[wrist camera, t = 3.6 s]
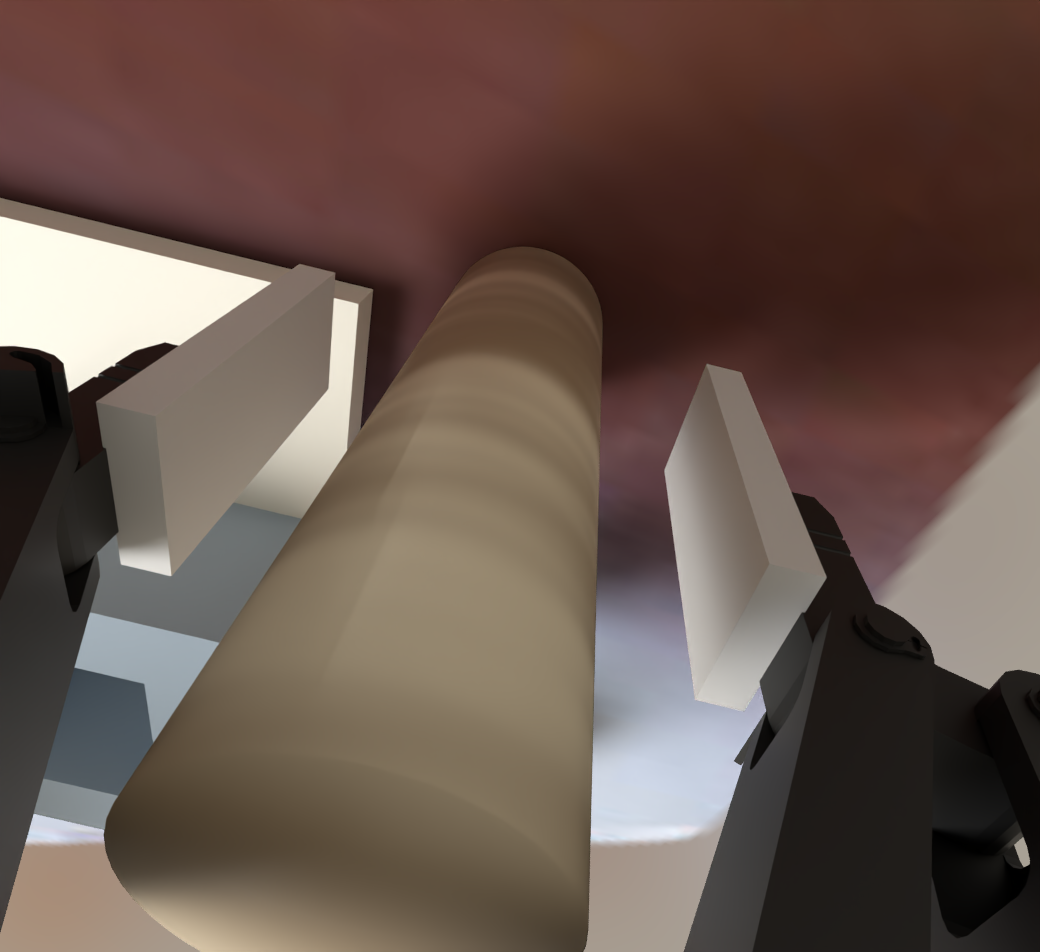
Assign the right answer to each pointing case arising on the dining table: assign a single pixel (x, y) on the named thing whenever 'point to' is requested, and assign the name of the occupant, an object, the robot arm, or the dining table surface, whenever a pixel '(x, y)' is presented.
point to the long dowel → (407, 668)
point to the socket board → (168, 306)
